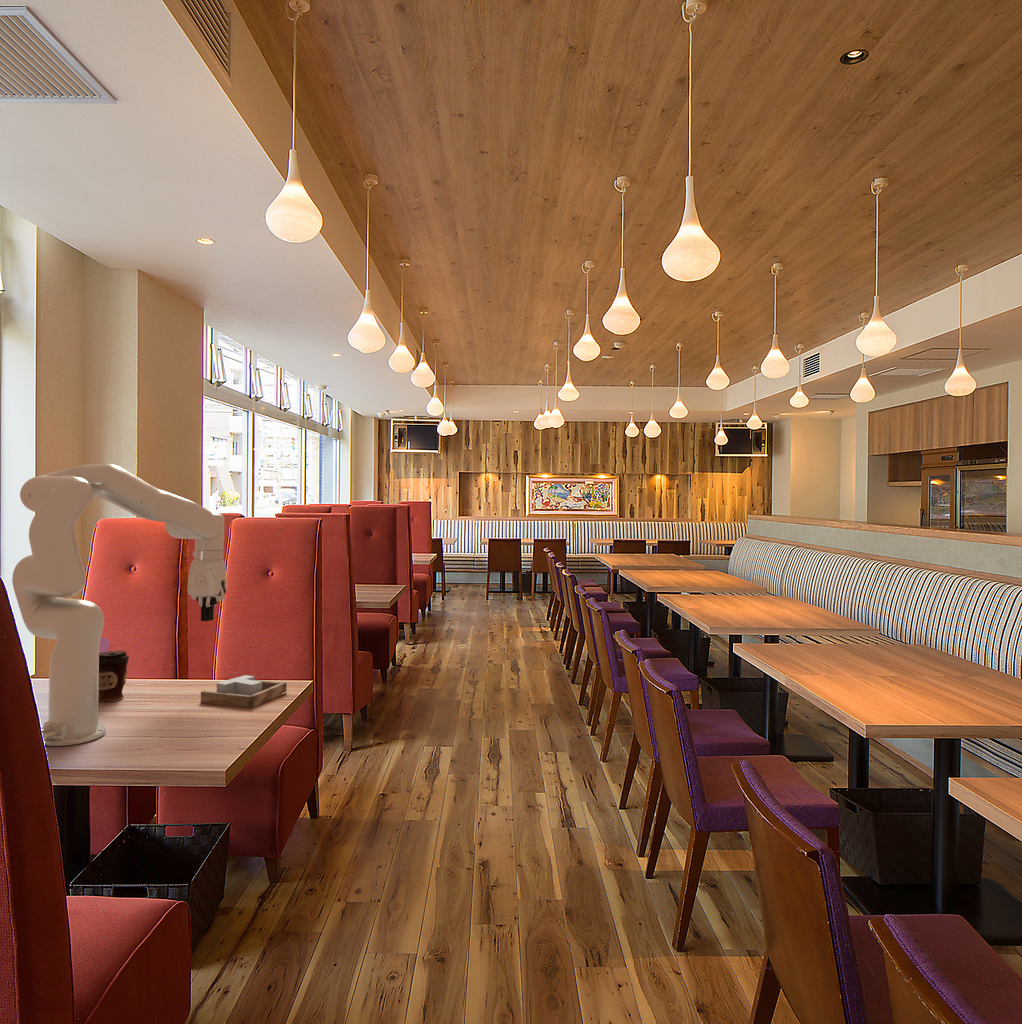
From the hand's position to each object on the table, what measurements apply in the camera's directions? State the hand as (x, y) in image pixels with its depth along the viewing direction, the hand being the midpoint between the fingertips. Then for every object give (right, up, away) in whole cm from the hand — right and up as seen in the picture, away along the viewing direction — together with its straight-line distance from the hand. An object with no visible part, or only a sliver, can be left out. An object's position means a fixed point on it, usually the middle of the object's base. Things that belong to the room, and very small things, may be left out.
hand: (207, 620), depth 186 cm
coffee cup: (-24, -21, -6) cm, 32 cm away
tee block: (+12, -21, -4) cm, 25 cm away
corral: (+11, -21, -3) cm, 24 cm away
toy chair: (-33, -21, +5) cm, 40 cm away
